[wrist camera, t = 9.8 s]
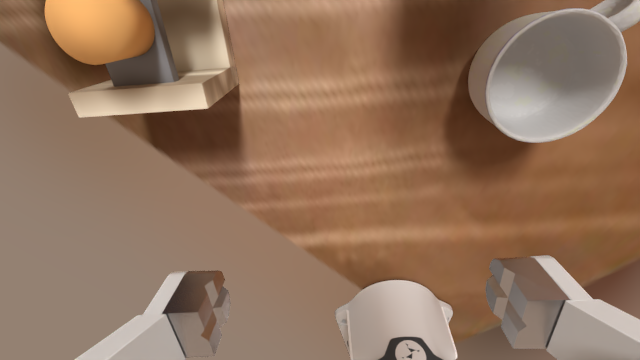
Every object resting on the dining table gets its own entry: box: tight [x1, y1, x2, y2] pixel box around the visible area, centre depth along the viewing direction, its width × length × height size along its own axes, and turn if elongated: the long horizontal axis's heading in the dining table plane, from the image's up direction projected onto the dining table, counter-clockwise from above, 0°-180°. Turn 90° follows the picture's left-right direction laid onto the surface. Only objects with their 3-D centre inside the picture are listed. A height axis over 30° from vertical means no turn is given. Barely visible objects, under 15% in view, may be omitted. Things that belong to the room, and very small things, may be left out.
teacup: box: [468, 0, 640, 143], centre depth 29 cm, size 14×11×8 cm
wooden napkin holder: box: [68, 0, 239, 117], centre depth 27 cm, size 13×11×10 cm
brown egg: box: [45, 0, 155, 65], centre depth 22 cm, size 5×5×4 cm
